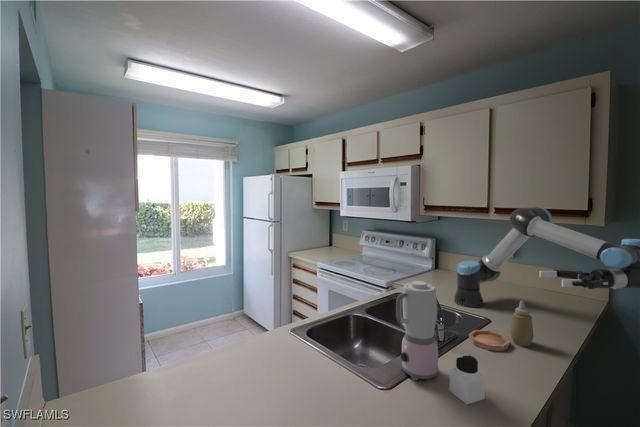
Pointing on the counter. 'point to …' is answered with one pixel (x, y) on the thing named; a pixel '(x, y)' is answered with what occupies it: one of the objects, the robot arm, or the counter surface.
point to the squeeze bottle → (522, 326)
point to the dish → (489, 340)
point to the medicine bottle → (467, 380)
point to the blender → (418, 329)
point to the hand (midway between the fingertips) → (550, 278)
